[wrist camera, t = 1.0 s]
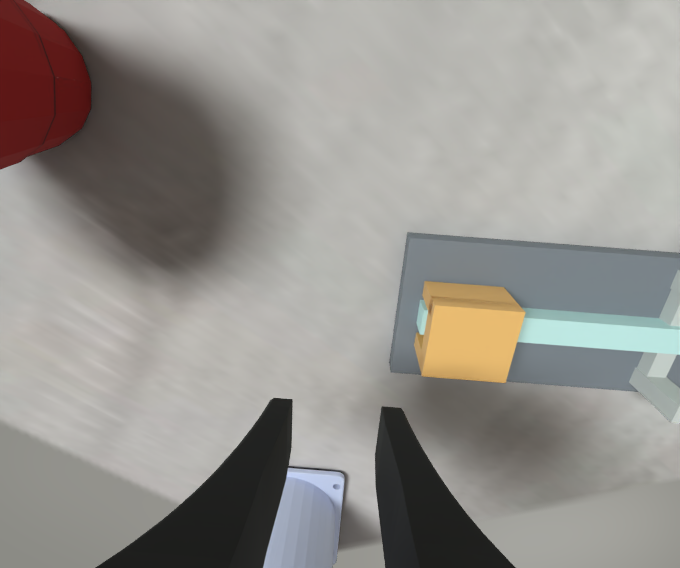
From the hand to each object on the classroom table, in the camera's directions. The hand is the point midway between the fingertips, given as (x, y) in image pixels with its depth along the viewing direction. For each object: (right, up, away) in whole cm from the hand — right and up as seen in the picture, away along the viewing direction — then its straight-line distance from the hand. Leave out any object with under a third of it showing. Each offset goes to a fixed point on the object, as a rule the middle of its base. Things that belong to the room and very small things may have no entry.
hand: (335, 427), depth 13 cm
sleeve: (+6, +3, +8) cm, 10 cm away
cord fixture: (+13, +3, +9) cm, 16 cm away
